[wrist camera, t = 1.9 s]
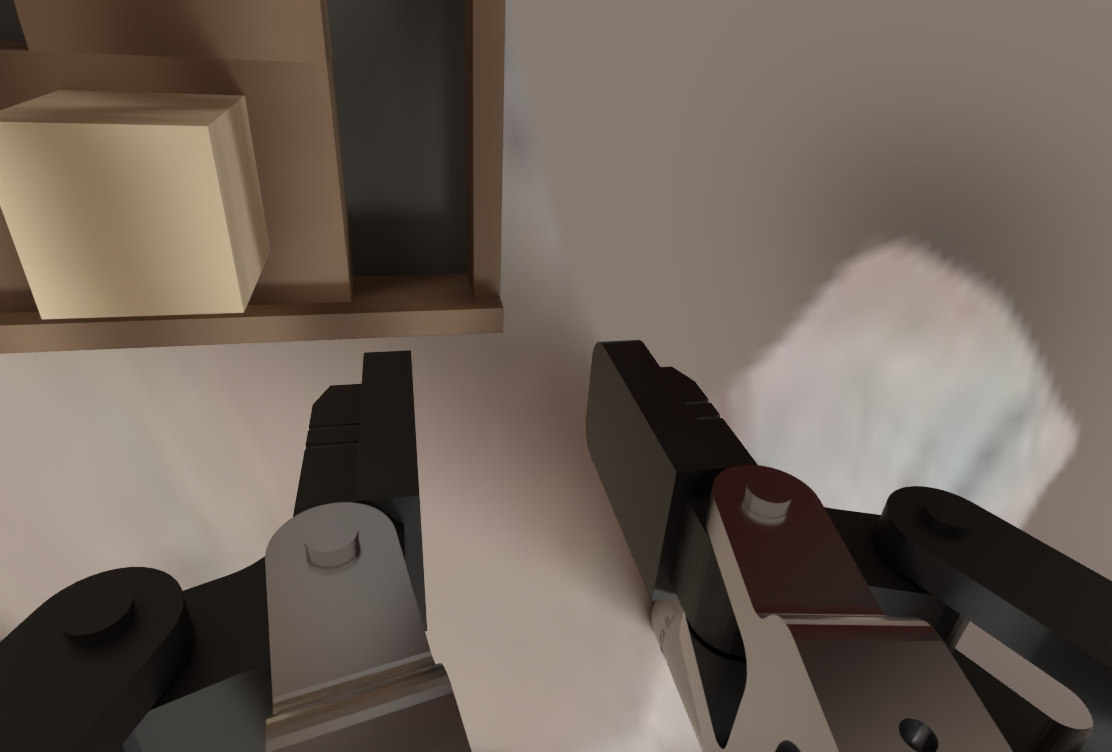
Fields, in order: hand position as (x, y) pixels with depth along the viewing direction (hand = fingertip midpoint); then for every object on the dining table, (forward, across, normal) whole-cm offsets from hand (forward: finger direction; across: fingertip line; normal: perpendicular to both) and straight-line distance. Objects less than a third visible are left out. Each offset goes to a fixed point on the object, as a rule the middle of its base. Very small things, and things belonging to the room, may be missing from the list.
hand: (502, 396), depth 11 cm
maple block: (+14, +8, 0) cm, 16 cm away
